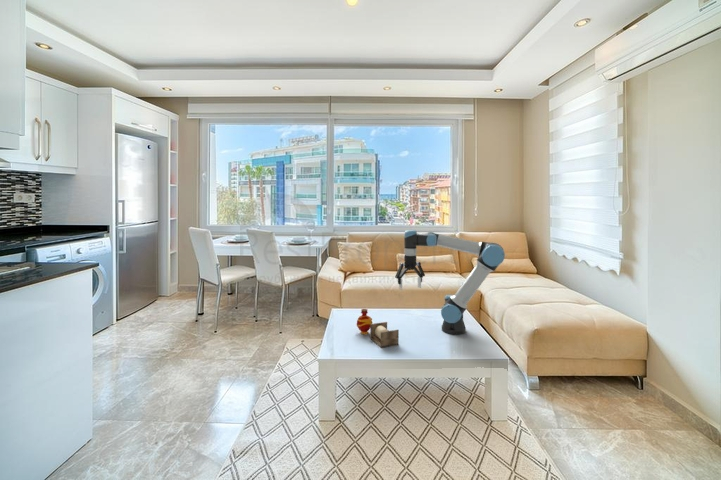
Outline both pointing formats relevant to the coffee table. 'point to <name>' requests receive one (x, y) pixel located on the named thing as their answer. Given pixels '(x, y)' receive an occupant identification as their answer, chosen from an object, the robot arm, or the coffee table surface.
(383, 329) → the roll
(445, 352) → the coffee table surface
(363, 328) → the potion bottle
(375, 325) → the holder
